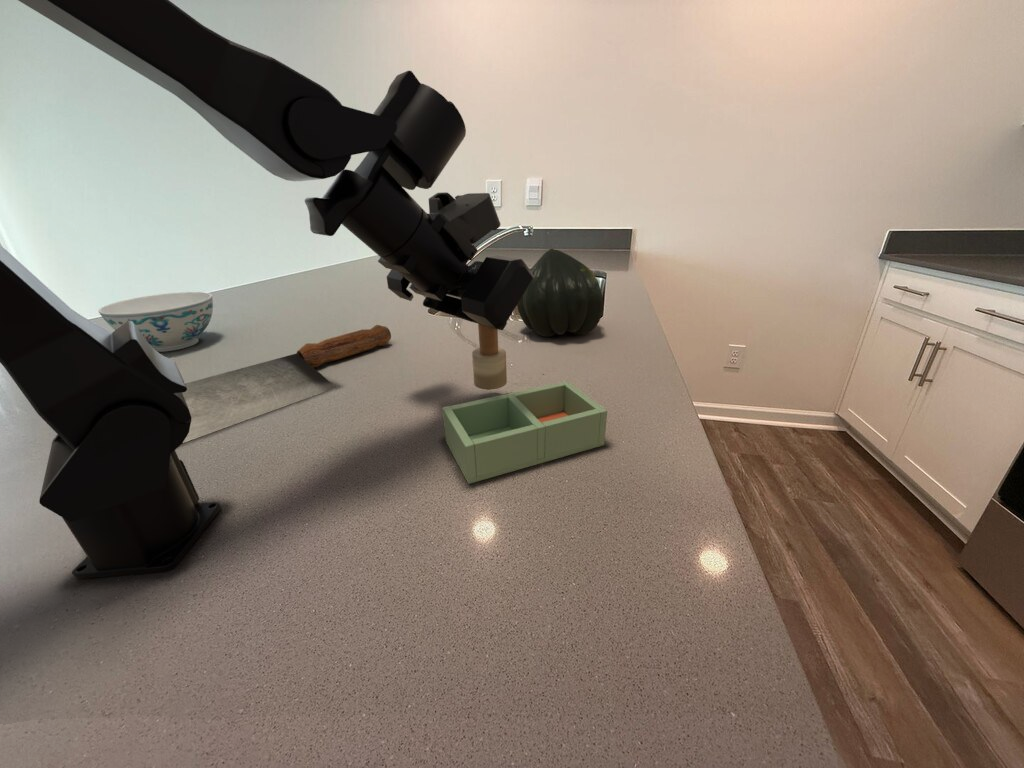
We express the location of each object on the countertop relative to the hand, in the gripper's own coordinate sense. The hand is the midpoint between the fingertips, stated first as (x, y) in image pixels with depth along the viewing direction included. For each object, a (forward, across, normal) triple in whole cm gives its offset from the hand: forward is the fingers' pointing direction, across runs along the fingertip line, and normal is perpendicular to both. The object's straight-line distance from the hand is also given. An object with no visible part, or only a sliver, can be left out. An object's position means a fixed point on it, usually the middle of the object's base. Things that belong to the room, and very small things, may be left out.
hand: (497, 324), depth 47 cm
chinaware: (-13, +55, +26) cm, 63 cm away
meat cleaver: (-5, +23, +19) cm, 30 cm away
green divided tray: (+3, -10, +10) cm, 15 cm away
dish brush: (+4, 0, +6) cm, 7 cm away
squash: (+24, +12, -11) cm, 29 cm away
